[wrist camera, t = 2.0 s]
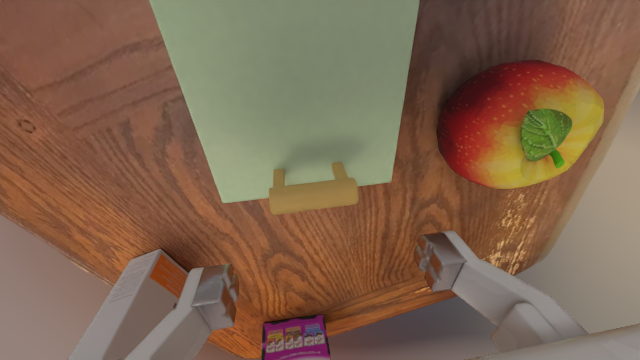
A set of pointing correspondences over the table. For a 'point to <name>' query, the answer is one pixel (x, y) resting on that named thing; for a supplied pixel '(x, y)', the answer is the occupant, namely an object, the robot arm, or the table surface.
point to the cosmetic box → (133, 307)
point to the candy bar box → (296, 339)
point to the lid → (293, 93)
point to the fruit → (518, 124)
